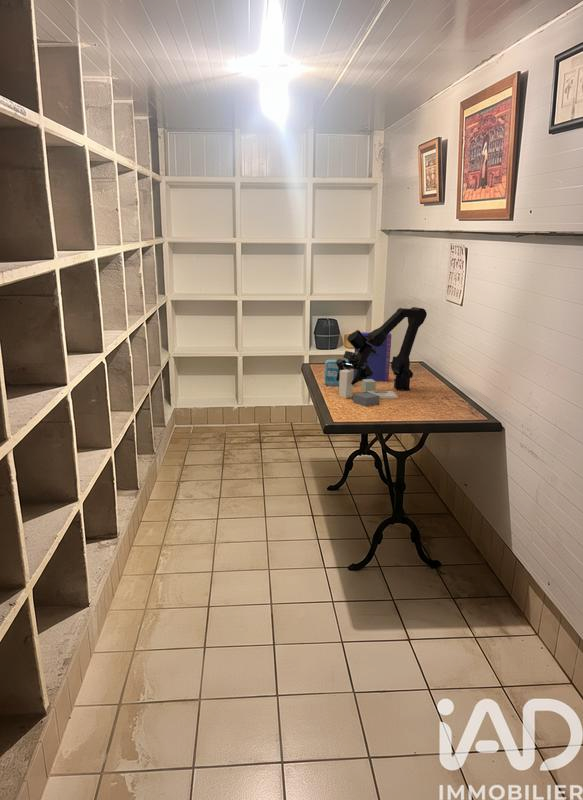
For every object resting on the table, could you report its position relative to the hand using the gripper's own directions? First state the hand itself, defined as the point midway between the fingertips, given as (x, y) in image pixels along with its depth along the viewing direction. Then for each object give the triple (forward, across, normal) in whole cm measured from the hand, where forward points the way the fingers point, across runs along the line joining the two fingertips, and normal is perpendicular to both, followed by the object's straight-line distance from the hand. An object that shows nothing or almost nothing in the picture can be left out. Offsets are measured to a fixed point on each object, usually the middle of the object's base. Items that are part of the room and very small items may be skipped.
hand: (344, 382), depth 271 cm
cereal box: (-21, -16, +30) cm, 40 cm away
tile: (-6, +9, +16) cm, 19 cm away
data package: (-6, -19, +15) cm, 25 cm away
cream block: (+4, 0, +6) cm, 7 cm away
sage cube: (-8, -1, +18) cm, 20 cm away
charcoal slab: (+5, +13, +5) cm, 15 cm away
